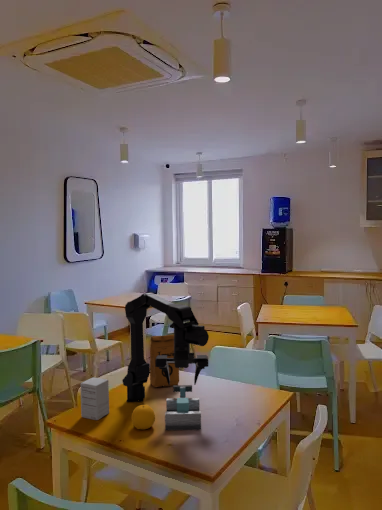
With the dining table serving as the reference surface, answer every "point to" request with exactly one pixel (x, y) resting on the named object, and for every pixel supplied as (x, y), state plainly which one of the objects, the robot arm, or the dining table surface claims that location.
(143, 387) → the robot arm
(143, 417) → the orange fruit
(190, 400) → the vise jaw
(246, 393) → the dining table surface
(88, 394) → the supplement box
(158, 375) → the coffee package
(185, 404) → the teal block
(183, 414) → the vise
